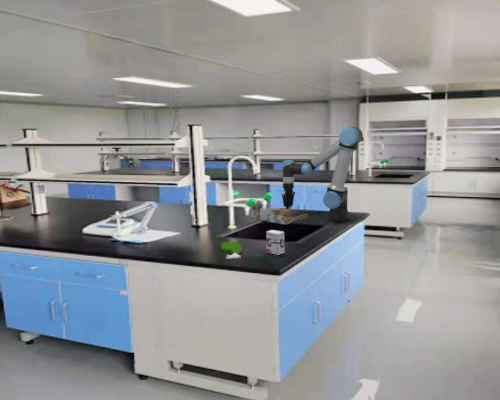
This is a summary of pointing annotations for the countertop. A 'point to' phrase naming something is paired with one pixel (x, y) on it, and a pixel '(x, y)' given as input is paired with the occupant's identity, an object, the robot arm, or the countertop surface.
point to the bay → (284, 218)
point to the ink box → (275, 242)
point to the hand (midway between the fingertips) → (288, 216)
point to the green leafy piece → (232, 249)
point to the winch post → (257, 211)
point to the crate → (282, 212)
